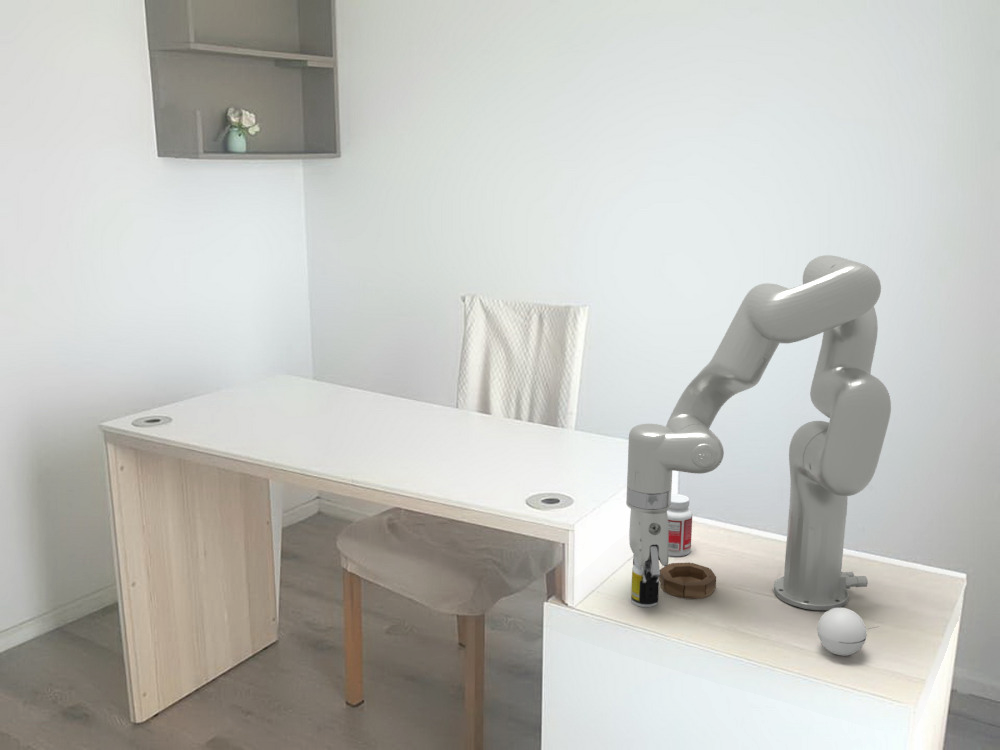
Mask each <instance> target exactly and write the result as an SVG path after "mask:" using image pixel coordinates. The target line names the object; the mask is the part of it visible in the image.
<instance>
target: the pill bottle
mask: <svg viewBox="0 0 1000 750" xmlns="http://www.w3.org/2000/svg"><path fill="white" fill-rule="evenodd" d="M689 506H690V498H689V496H687V495H685V494H679V493H671V507H670V508H669V509H668V510H667V516H668V536H669V556H670V557H683V556H687V555H689V554H690V553H691V551H692V550H691V549H692V532H693V531H692V530H693V529H692V528H693V511H692V509H690V508H689ZM669 556H668V557H669Z"/></svg>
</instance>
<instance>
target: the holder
mask: <svg viewBox="0 0 1000 750" xmlns="http://www.w3.org/2000/svg"><path fill="white" fill-rule="evenodd" d="M659 586H660V589H661V590H662V591H663V592H664V593H666V594H667V595H670V596H672V597H675V598H679V599H685V600H699V599H704V598H708V597H709V596H712V594H713V593H714V591H715V590H716V588H717V575H716V574H715V573H714V571H713V570H712V569H711V568H710V567H707V566H703V565H700V564H698V563H693V562H671V563H668V565H667V566H662V567H661V568H660V576H659Z"/></svg>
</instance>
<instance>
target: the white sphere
mask: <svg viewBox="0 0 1000 750" xmlns="http://www.w3.org/2000/svg"><path fill="white" fill-rule="evenodd" d="M875 628H880V626H874V627H870V628H868V630H871V629H875ZM816 630H817V636H818V638H819V641H820V643H821V645H822V646H823V647H824V648H825V649H826V650H827V651H828V652H830V653H831V654H832V653H833V654H834V655H837V656H851V655H853V654H855V653H857V652H859V651H860V650H861V649H862V647H864V645H865V643H866V640H867V637H868V636H867V626H866V624H865V623H864V620H863V619H862V617H861V616H859V614H858V613H857V612H855V611H854V610H851V609H849V608H846V607H840V608H833V609H830V610H826V611H825V612H824V613H823V614H822V616H820V618H819V620H818V624H817V629H816Z"/></svg>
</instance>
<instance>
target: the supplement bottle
mask: <svg viewBox="0 0 1000 750" xmlns="http://www.w3.org/2000/svg"><path fill="white" fill-rule="evenodd" d="M645 563H646V564H650V561H645ZM650 570H651V568H646V574H647V572H650ZM640 581H642V566H641V565H640V564H639V563H638V561H637V559H636V558H635V565H634V566H632V568H631V588H630V589H631V590H630V591H631V592H630V600H631V602H632V604H633V605H634V606H637V607H642V608H652V607H655V606H656V605H658V603H659V601H658V602H657V603H640V601H639V591H640Z"/></svg>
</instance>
